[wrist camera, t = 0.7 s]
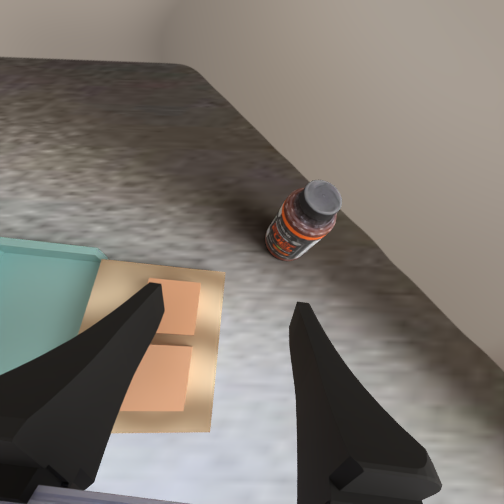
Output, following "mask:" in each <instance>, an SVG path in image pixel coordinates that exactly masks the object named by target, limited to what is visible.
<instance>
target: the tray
mask: <svg viewBox="0 0 504 504" xmlns="http://www.w3.org/2000/svg"><path fill="white" fill-rule="evenodd" d="M102 259H105V260H107V259H108V257H107V256H106V255H104V254H103V253H102V252H101V251H100V250H99V249H98V248H93V247H84V246H76V245H67V244H58V243H49V242H41V241H32V240H23V239H14V238H5V237H0V375H1V374H3V373H6V372H8V371H10V370H12V369H14V368H17V367H19V366H21V365H23V364H25V363H27V362H29V361H31V360H33V359H35V358H37V357H39V356H41V355H43V354H45V353H47V352H49V351H50V350H52V349H54V348H56V347H58V346H60V345H61V344H63V343H65V342H67V341H69V340H70V339H72V338H74V337H75V336H77V335H78V333H79V330H80V326H81V323H82V320H83V317H84V314H85V311H86V307H87V304H88V301H89V298H90V295H91V292H92V288H93V285H94V282H95V279H96V276H97V273H98V270H99V266H100V263H101V260H102Z"/></svg>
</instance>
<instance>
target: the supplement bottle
mask: <svg viewBox="0 0 504 504" xmlns="http://www.w3.org/2000/svg"><path fill="white" fill-rule="evenodd" d="M341 205H342V198H341V195H340V193H339V191H338V190H337V188H336V187H335V186H333V185H332V184H331V183H329V182H327V181H323V180H314V181H311V182H309V183H308V184H307V185H306V186H305V188H300V189H297V190H295V191H293V192H292V193H291V194H290V195H289V196H288V197H287V199H286V200H285V202H284V203H283V205H282V207H281V208H280V210H279V211H278V213H277V215H276V216H275V218H274V220H273V221H272V223H271V224H270V226H269V228H268V230H267V232H266V235H265V242H266V246H267V248H268V250H269V251H270V253H271V254H272V255H273V256H275V257H276V258H278V259H280V260H284V261H292V260H295V259H297V258H299V257H300V256H302V255H303V254H304V253H305V252H306V251H308V250H309V249H310V248H311V247H312V246H313V245H315V244H316V243H317V242H318V241H319V240H321V239H322V238H323V237H324V236H325V235H326V234H327V233H329V232H330V231H331V229H332V228H333V227H334V225H335V222H336V213H337V212H338V211H339V210H340V208H341Z"/></svg>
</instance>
